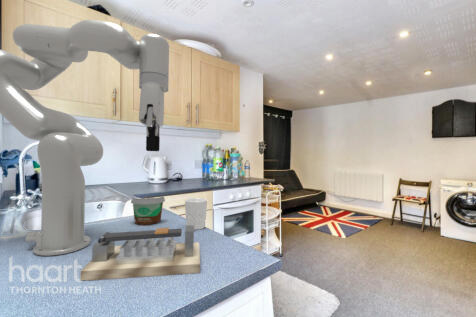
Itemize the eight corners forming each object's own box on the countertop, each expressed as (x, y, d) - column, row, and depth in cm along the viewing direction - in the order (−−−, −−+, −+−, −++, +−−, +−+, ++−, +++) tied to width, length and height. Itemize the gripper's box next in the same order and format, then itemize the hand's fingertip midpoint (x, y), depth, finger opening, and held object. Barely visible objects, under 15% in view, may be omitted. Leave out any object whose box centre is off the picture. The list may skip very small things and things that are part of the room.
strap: (97, 243, 52) (97, 236, 52) (104, 237, 56) (104, 231, 55) (180, 237, 55) (180, 231, 55) (181, 232, 59) (181, 226, 59)
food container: (127, 227, 82) (128, 199, 82) (130, 222, 88) (131, 196, 88) (164, 225, 85) (164, 198, 85) (164, 220, 91) (165, 195, 91)
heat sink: (87, 266, 49) (88, 238, 49) (104, 249, 58) (104, 225, 58) (193, 260, 53) (193, 234, 53) (193, 245, 62) (194, 222, 62)
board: (80, 280, 47) (80, 271, 47) (105, 254, 60) (105, 246, 60) (199, 272, 51) (199, 263, 51) (199, 249, 64) (199, 242, 64)
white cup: (207, 224, 88) (208, 198, 88) (205, 230, 80) (205, 202, 80) (186, 223, 88) (187, 197, 88) (182, 230, 80) (183, 201, 80)
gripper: (145, 90, 70) (144, 151, 70) (131, 73, 55) (130, 150, 55) (171, 92, 71) (170, 151, 71) (164, 75, 56) (163, 150, 56)
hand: (152, 150), depth 63 cm, fingers closed
